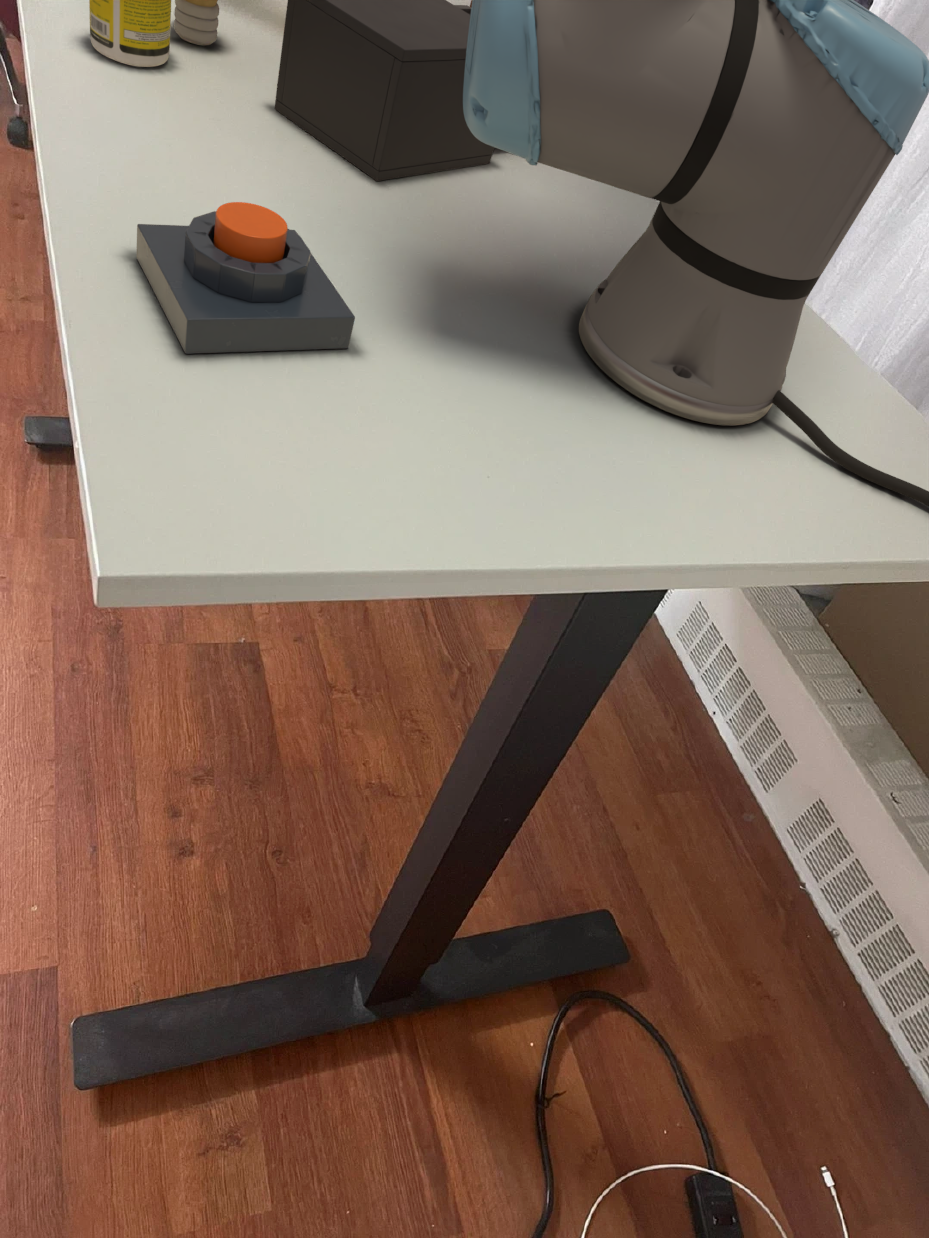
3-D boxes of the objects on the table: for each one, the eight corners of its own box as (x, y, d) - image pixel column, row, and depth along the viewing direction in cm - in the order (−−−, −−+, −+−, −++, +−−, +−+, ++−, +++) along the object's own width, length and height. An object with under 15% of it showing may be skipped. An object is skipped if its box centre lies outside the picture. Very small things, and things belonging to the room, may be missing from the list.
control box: (348, 348, 55) (362, 289, 52) (185, 354, 50) (189, 289, 47) (290, 260, 60) (299, 202, 57) (135, 258, 55) (137, 193, 52)
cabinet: (393, 99, 85) (418, -17, 78) (489, 163, 81) (524, 47, 75) (274, 109, 76) (290, -23, 69) (376, 181, 72) (404, 50, 65)
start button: (293, 267, 52) (298, 239, 51) (226, 266, 50) (229, 236, 49) (269, 231, 54) (273, 203, 53) (204, 229, 52) (206, 199, 51)
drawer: (464, 88, 90) (487, 0, 85) (548, 142, 87) (578, 53, 82) (359, 95, 81) (378, -4, 75) (449, 156, 78) (475, 57, 72)
